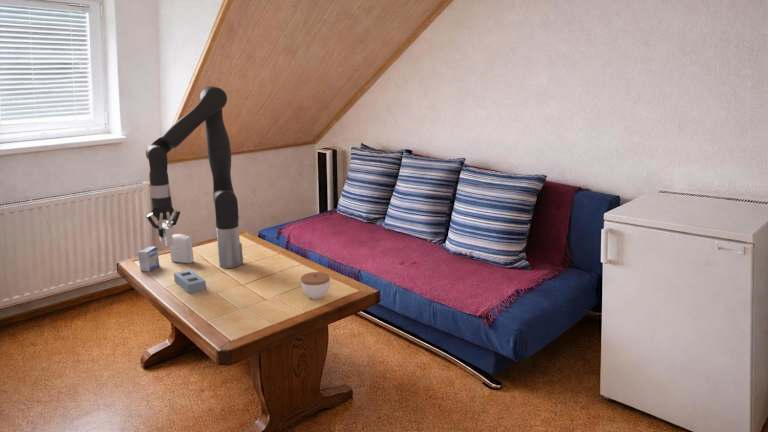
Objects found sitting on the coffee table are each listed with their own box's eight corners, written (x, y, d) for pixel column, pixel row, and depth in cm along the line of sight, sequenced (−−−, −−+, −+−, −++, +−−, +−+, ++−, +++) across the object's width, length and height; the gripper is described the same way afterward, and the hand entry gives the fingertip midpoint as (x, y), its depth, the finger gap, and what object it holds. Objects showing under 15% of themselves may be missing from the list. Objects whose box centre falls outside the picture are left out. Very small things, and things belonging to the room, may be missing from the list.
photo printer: (169, 261, 275) (166, 234, 272) (176, 258, 279) (173, 231, 276) (189, 264, 272) (186, 237, 268) (195, 261, 276) (192, 234, 272)
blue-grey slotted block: (191, 277, 257) (190, 269, 256) (206, 289, 245) (205, 280, 244) (174, 281, 253) (173, 272, 252) (188, 293, 241) (187, 284, 240)
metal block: (165, 238, 260) (163, 222, 258) (173, 245, 252) (171, 228, 250) (159, 240, 259) (157, 223, 257) (167, 246, 251) (165, 229, 249)
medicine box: (149, 272, 263) (147, 252, 261) (140, 271, 264) (137, 251, 262) (159, 265, 271) (157, 246, 268) (150, 264, 272) (148, 245, 269)
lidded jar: (306, 303, 230) (305, 280, 228) (298, 293, 240) (297, 270, 237) (334, 299, 234) (333, 275, 232) (325, 288, 244) (324, 266, 241)
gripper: (175, 190, 257) (179, 231, 262) (140, 196, 249) (145, 237, 254) (181, 194, 251) (185, 235, 256) (145, 199, 243) (151, 242, 248)
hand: (165, 236), depth 255 cm, fingers closed on metal block, 2 cm apart
